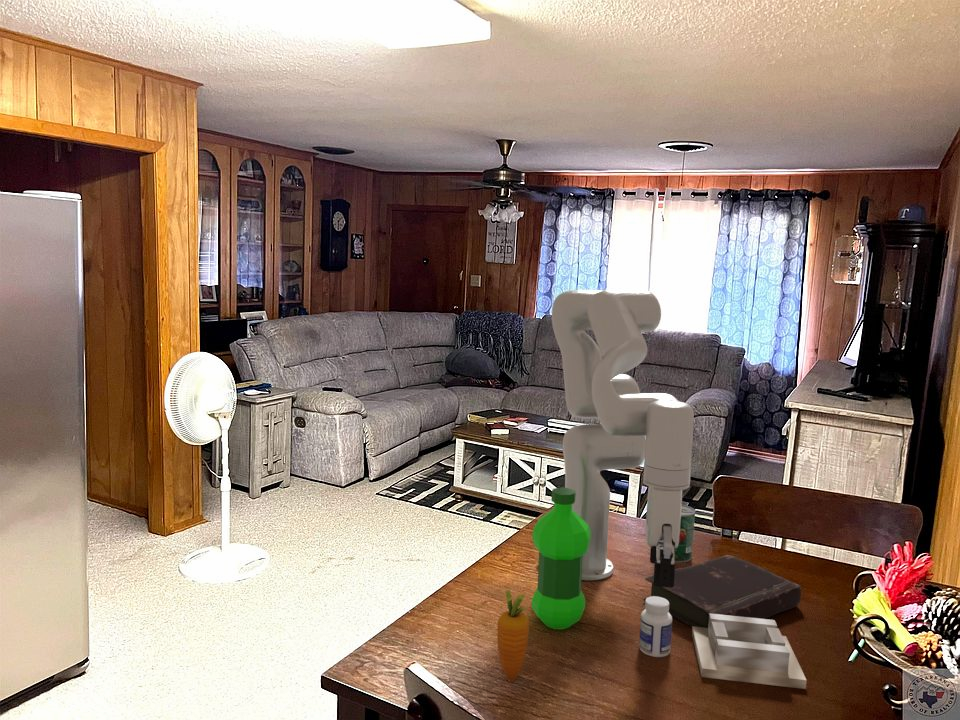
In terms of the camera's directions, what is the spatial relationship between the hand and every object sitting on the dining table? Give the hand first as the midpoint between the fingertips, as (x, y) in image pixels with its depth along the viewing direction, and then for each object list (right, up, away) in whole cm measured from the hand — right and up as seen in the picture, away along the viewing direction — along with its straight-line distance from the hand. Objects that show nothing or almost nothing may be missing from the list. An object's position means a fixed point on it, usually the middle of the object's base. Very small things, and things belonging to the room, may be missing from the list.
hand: (661, 574), depth 127 cm
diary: (+16, -12, +20) cm, 29 cm away
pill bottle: (-1, -14, +3) cm, 14 cm away
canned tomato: (+13, -8, +44) cm, 46 cm away
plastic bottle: (-16, -12, +11) cm, 23 cm away
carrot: (-26, -15, -8) cm, 31 cm away
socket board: (+14, -15, 0) cm, 20 cm away
